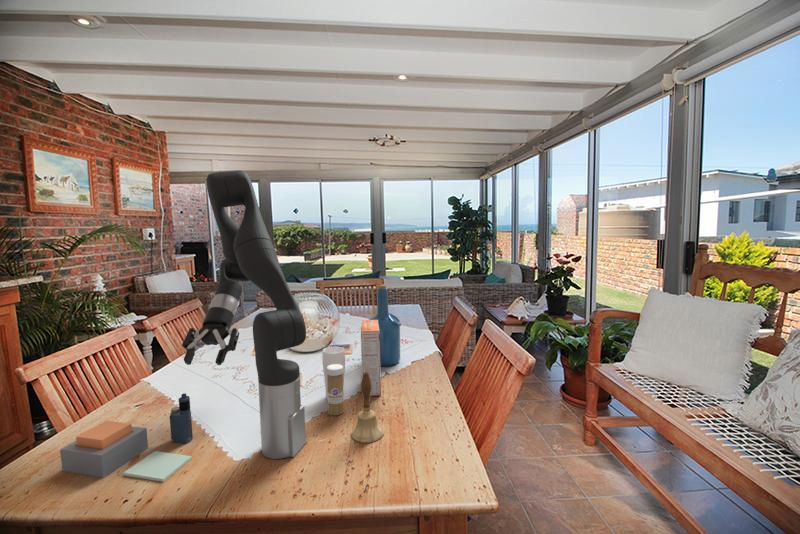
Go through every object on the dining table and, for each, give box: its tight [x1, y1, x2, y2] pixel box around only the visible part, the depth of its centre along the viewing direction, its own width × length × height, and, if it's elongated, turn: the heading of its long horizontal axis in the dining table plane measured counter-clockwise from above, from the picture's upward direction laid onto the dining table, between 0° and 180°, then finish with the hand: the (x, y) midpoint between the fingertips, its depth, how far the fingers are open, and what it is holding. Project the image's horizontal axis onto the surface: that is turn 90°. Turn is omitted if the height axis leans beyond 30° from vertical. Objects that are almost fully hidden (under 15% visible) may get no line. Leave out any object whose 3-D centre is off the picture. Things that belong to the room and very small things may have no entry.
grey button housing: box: [59, 425, 149, 478], centre depth 86 cm, size 11×11×5 cm
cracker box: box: [360, 319, 382, 397], centre depth 123 cm, size 14×6×21 cm, turn 5°
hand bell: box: [350, 372, 385, 444], centre depth 96 cm, size 8×8×16 cm
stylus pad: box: [123, 450, 193, 483], centre depth 84 cm, size 10×8×1 cm
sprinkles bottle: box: [327, 364, 345, 416], centre depth 107 cm, size 5×5×13 cm
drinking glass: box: [321, 346, 346, 399], centre depth 116 cm, size 7×7×15 cm
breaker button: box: [75, 420, 132, 450], centre depth 86 cm, size 7×7×3 cm
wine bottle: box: [368, 284, 402, 367], centre depth 146 cm, size 14×13×30 cm
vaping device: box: [169, 393, 194, 444], centre depth 93 cm, size 3×5×12 cm, turn 78°
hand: (202, 363), depth 103 cm, fingers open, 8 cm apart
